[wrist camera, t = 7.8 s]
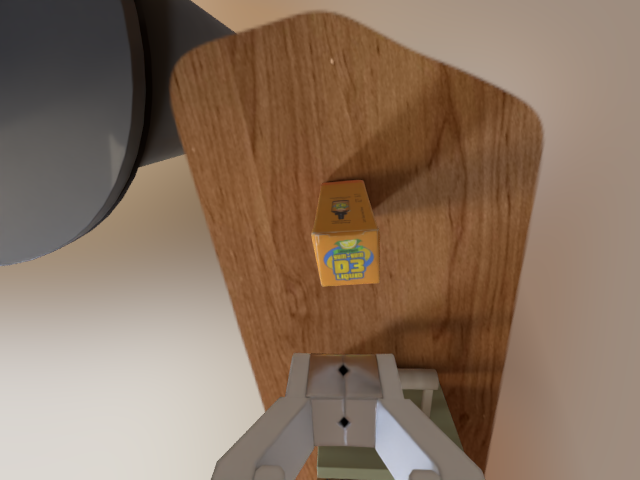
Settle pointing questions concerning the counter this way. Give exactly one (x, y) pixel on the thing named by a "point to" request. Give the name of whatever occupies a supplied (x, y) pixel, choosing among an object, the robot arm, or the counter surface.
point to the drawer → (364, 462)
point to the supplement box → (346, 235)
